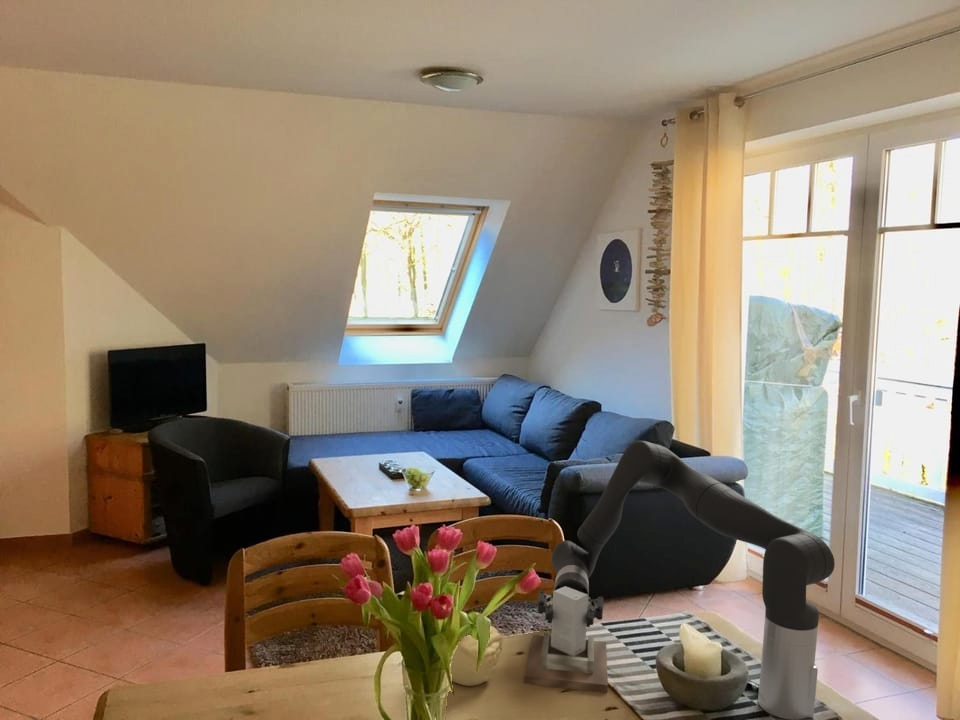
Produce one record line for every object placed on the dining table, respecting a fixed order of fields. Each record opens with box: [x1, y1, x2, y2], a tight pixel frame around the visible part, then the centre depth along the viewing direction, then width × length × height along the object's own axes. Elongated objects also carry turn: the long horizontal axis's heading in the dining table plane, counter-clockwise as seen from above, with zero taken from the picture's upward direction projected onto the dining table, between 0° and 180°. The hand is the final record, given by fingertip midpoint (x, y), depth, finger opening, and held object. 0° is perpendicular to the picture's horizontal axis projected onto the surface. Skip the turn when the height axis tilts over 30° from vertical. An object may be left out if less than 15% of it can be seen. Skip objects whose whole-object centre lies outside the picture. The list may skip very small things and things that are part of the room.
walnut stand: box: [524, 632, 609, 693], centre depth 160 cm, size 16×18×4 cm
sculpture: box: [451, 625, 504, 687], centre depth 153 cm, size 11×12×11 cm
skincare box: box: [550, 586, 588, 656], centre depth 159 cm, size 6×4×12 cm
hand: (569, 620), depth 157 cm, fingers closed on skincare box, 7 cm apart
